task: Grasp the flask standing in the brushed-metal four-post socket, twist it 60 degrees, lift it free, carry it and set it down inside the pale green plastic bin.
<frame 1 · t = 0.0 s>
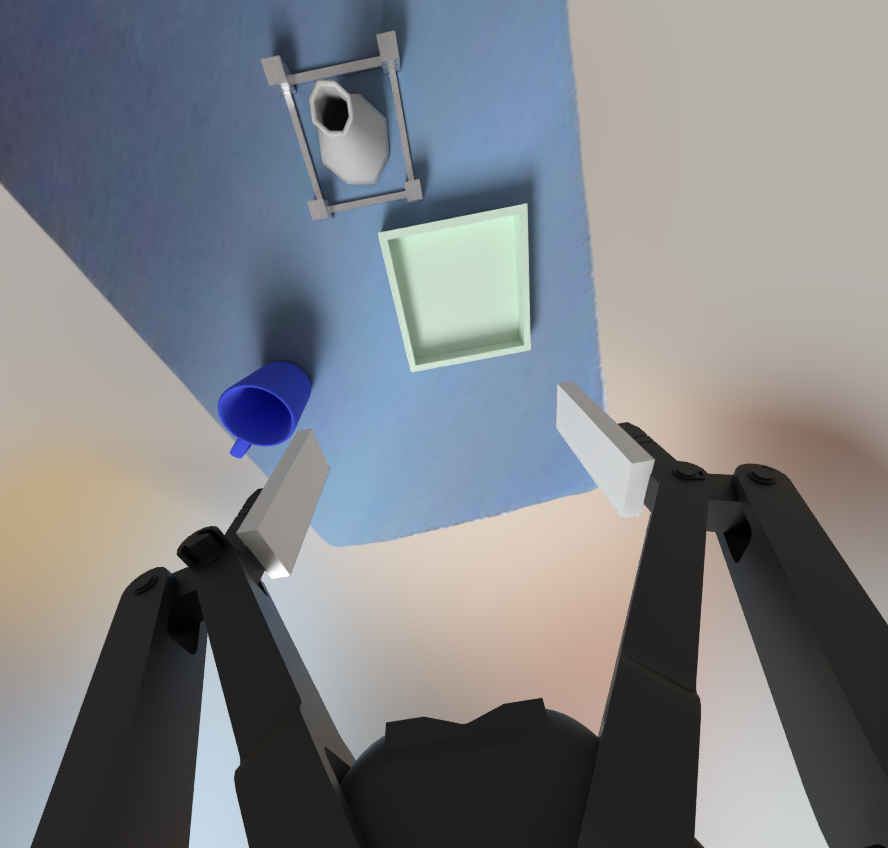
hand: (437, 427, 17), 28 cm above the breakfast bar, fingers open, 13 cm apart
bin: (459, 293, 40), on the breakfast bar
socket: (354, 142, 32), on the breakfast bar
flask: (354, 142, 32), on the breakfast bar
mug: (282, 391, 45), on the breakfast bar
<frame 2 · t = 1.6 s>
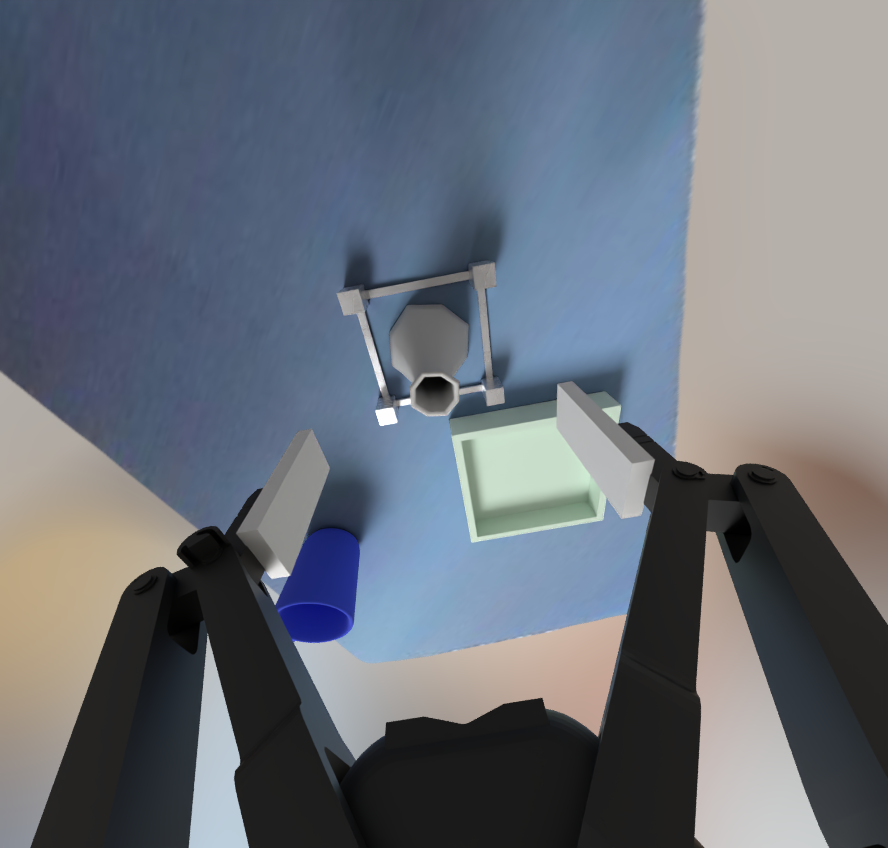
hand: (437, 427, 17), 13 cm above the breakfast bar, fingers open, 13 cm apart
bin: (528, 465, 36), on the breakfast bar
socket: (429, 344, 28), on the breakfast bar
flask: (429, 343, 28), on the breakfast bar
mug: (327, 548, 42), on the breakfast bar
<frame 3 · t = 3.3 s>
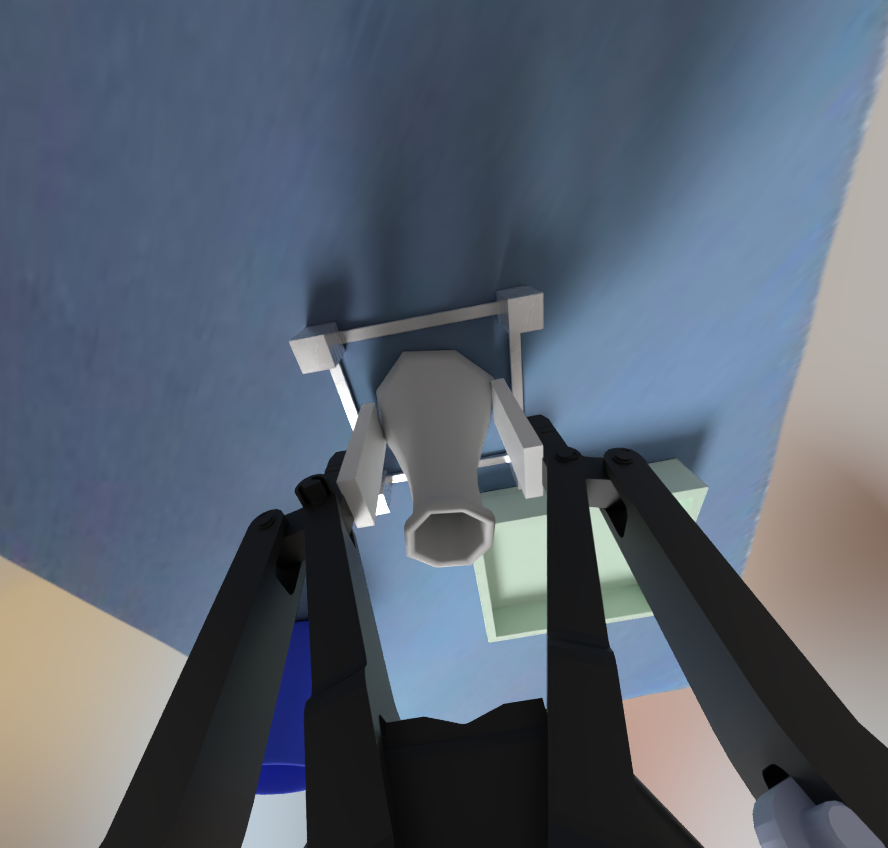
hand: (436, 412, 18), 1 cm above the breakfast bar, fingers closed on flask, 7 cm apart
bin: (564, 546, 27), on the breakfast bar
socket: (435, 404, 19), on the breakfast bar
flask: (435, 402, 19), on the breakfast bar, touching gripper
mug: (302, 639, 33), on the breakfast bar
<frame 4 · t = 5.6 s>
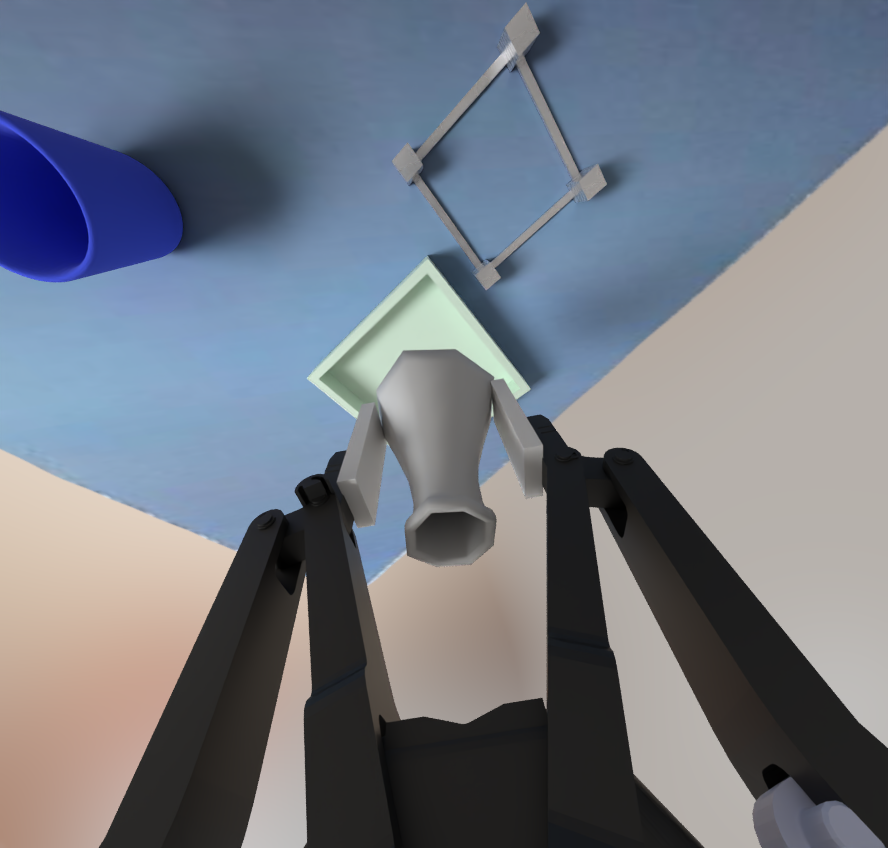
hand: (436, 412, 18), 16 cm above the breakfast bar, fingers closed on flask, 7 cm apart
bin: (422, 372, 34), on the breakfast bar
socket: (496, 177, 26), on the breakfast bar
flask: (435, 401, 19), point 15 cm above the breakfast bar, touching gripper
mug: (118, 204, 25), on the breakfast bar
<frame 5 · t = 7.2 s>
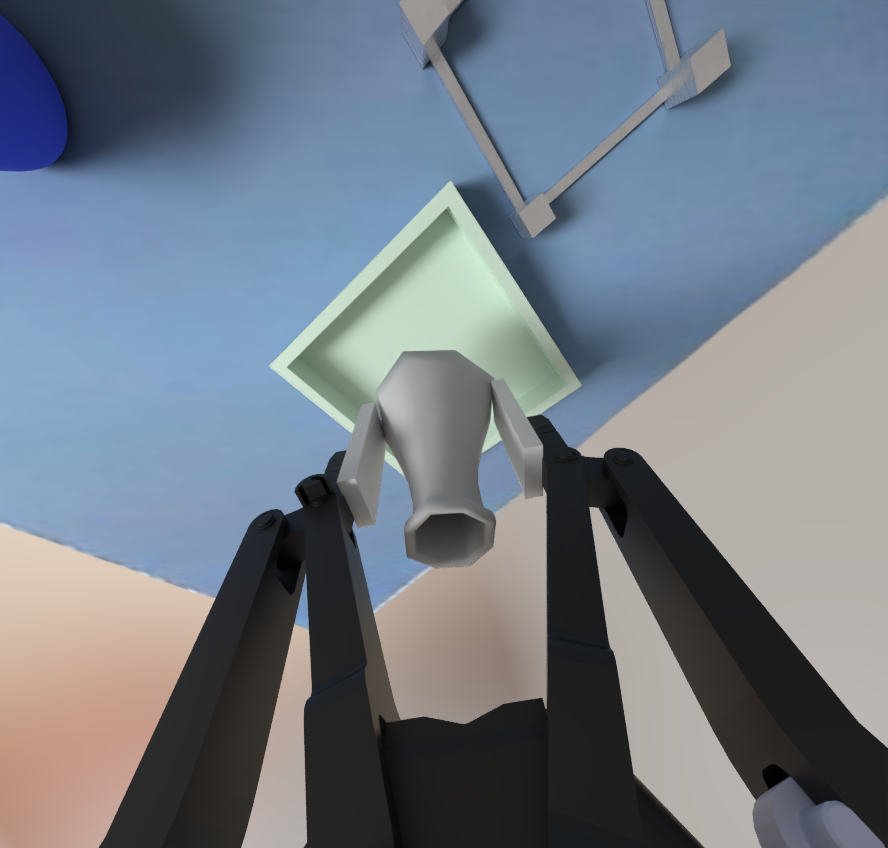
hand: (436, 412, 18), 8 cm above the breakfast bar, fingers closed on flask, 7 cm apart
bin: (432, 361, 25), on the breakfast bar
socket: (555, 61, 17), on the breakfast bar
flask: (435, 402, 19), point 7 cm above the breakfast bar, touching gripper
when the fingers open (3 cm above the breakfast bar, at t = 8.4 s): flask drops 2 cm, resting on bin.
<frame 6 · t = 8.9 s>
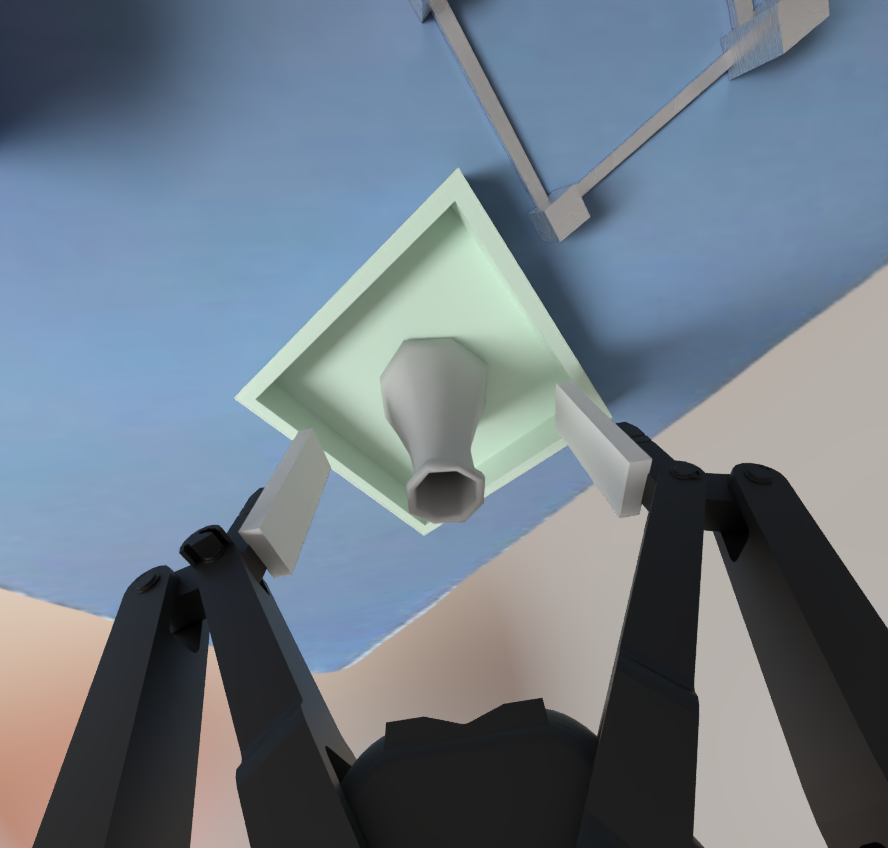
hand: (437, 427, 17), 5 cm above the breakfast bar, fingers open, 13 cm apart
bin: (433, 387, 21), on the breakfast bar
socket: (593, 13, 13), on the breakfast bar
flask: (434, 388, 21), resting on bin
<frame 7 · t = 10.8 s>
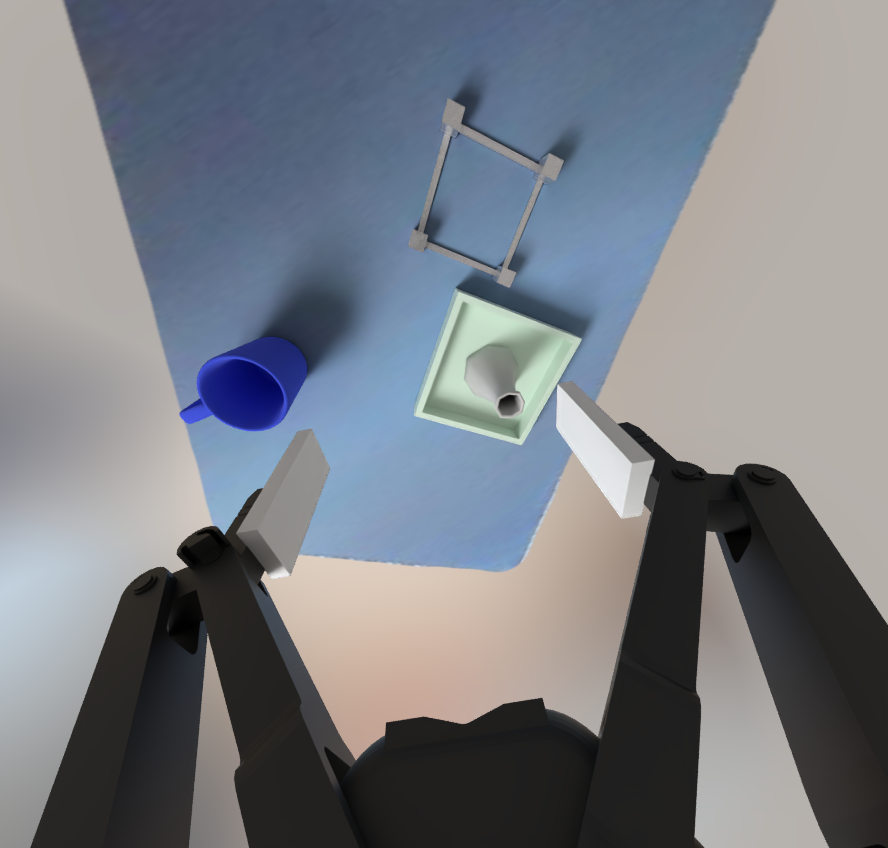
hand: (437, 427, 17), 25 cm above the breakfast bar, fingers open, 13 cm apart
bin: (489, 370, 42), on the breakfast bar
socket: (478, 207, 33), on the breakfast bar
flask: (489, 370, 42), resting on bin
mug: (268, 367, 39), on the breakfast bar
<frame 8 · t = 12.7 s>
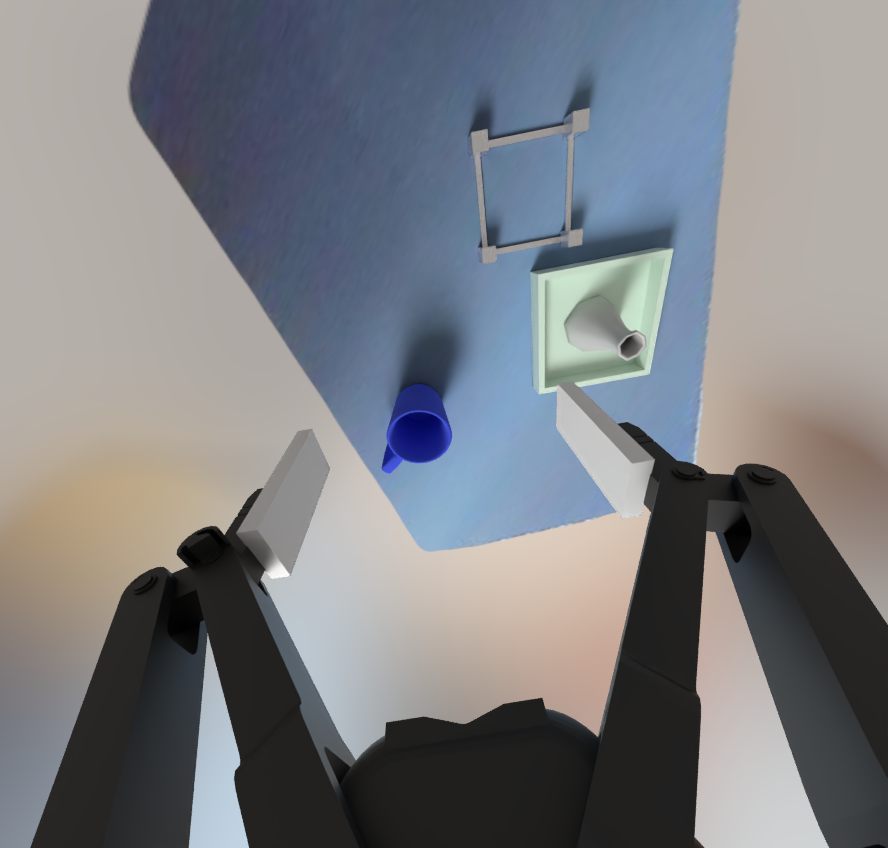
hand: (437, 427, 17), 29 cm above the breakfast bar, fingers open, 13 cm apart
bin: (588, 323, 44), on the breakfast bar
socket: (524, 195, 36), on the breakfast bar
flask: (589, 323, 43), resting on bin
mug: (411, 410, 49), on the breakfast bar
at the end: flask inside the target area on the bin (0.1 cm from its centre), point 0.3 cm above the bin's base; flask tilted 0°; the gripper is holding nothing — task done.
